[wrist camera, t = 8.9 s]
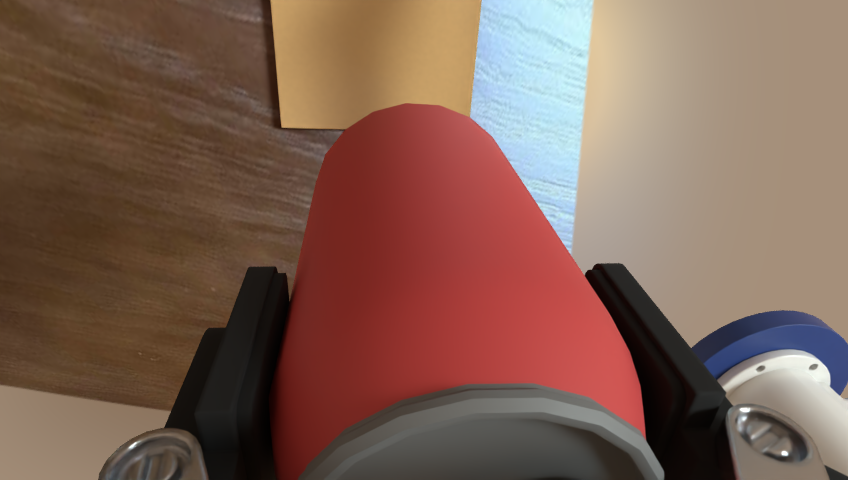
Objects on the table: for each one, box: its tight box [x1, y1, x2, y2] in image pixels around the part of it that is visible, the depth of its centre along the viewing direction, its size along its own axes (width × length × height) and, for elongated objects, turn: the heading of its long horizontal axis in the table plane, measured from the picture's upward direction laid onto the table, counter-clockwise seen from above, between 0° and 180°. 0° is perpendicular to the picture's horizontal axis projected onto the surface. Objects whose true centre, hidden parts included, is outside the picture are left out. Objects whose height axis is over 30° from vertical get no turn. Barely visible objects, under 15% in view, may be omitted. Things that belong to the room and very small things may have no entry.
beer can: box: [268, 103, 664, 480], centre depth 12 cm, size 7×7×12 cm
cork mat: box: [270, 0, 482, 129], centre depth 29 cm, size 12×14×1 cm
